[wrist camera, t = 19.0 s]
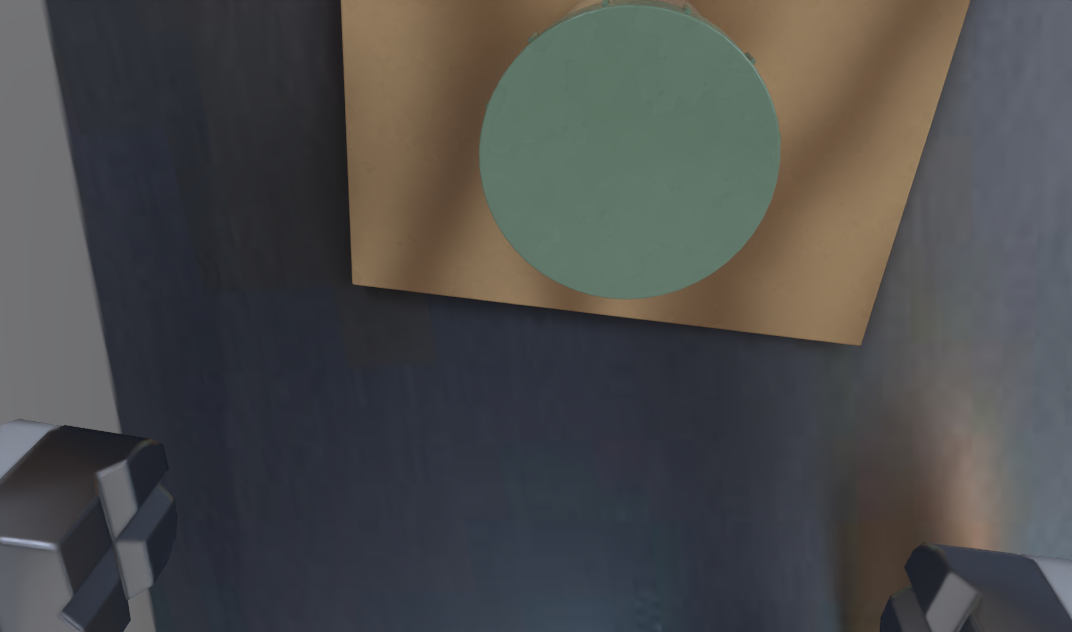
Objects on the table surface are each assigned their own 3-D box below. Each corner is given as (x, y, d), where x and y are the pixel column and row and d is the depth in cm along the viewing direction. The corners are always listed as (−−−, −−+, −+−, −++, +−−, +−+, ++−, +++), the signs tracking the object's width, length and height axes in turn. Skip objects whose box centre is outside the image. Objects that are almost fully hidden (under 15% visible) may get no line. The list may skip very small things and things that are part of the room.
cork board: (358, 276, 31) (351, 285, 31) (338, -268, 23) (328, -274, 22) (855, 336, 30) (860, 346, 29) (1029, -219, 21) (1042, -224, 21)
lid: (483, 258, 20) (473, 283, 18) (496, -16, 17) (484, -10, 15) (739, 288, 19) (746, 315, 18) (799, 12, 16) (814, 20, 15)
